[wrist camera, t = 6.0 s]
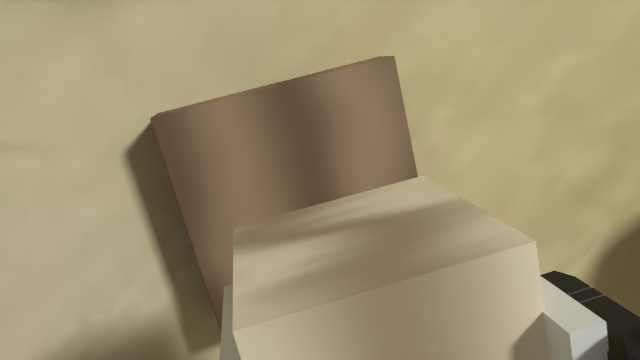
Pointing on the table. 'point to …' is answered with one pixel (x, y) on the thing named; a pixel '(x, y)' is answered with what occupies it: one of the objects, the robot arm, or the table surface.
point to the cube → (387, 281)
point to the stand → (282, 154)
